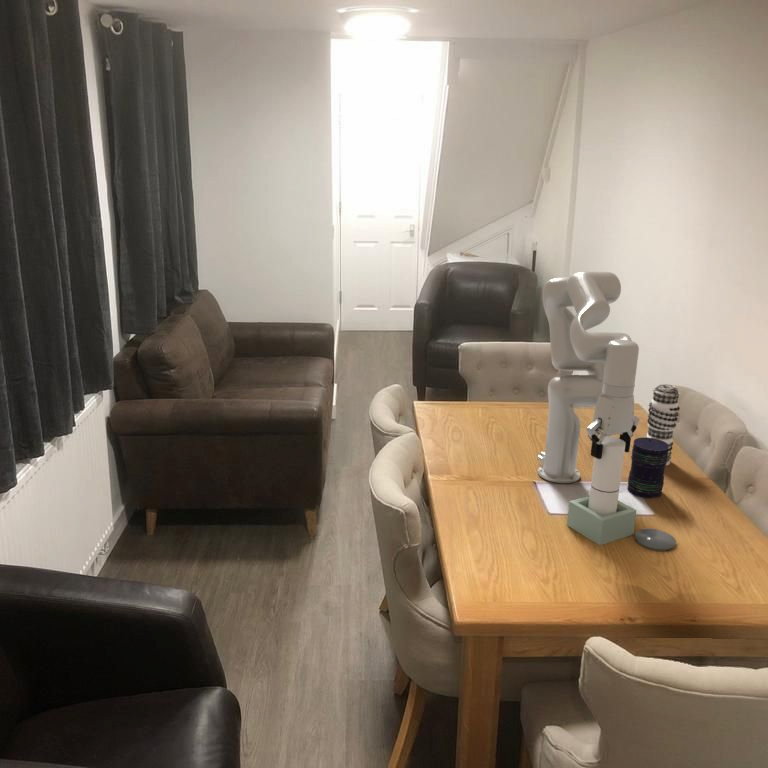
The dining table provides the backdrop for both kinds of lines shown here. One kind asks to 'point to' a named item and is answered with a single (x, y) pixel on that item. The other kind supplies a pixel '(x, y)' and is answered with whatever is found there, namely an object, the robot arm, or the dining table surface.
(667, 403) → the decorative candle
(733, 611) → the dining table surface
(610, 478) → the cylindrical container
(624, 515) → the collar
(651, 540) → the grey round disc
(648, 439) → the storage jar
